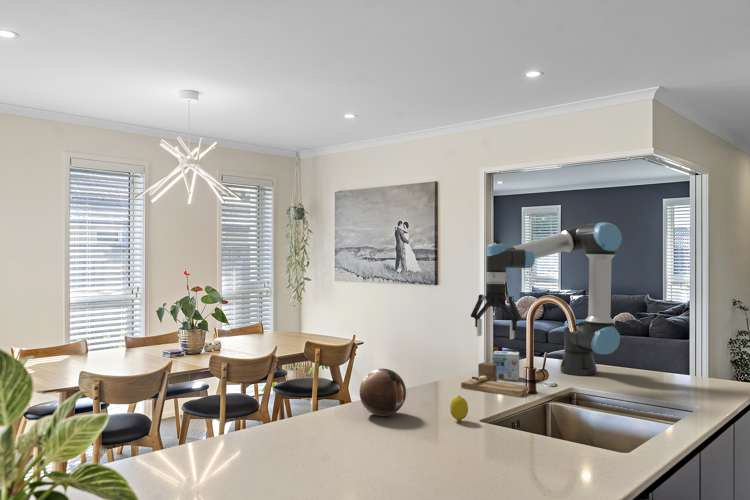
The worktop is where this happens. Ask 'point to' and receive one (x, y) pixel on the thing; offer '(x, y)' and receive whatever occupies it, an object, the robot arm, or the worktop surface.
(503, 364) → the light bulb box
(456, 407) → the lemon
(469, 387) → the board
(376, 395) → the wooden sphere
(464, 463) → the worktop surface
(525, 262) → the robot arm
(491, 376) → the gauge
